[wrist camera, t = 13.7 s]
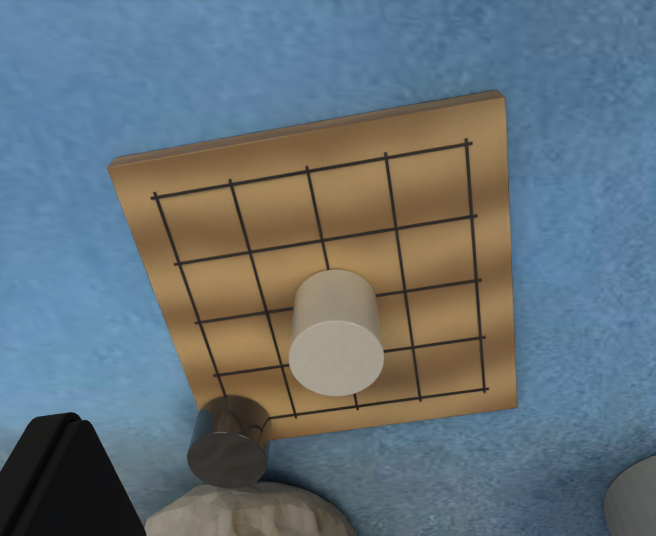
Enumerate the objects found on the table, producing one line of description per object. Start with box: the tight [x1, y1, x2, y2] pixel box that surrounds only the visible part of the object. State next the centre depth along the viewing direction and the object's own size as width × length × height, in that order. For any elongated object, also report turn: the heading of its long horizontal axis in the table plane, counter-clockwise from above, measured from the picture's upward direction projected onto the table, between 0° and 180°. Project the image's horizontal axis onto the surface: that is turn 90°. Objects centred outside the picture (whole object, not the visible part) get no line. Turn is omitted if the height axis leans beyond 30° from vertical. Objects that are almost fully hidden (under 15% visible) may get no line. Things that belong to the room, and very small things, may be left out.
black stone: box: [187, 396, 272, 489], centre depth 38 cm, size 5×5×3 cm
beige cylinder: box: [288, 270, 384, 396], centre depth 33 cm, size 5×5×5 cm
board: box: [107, 90, 517, 440], centre depth 36 cm, size 20×20×2 cm
